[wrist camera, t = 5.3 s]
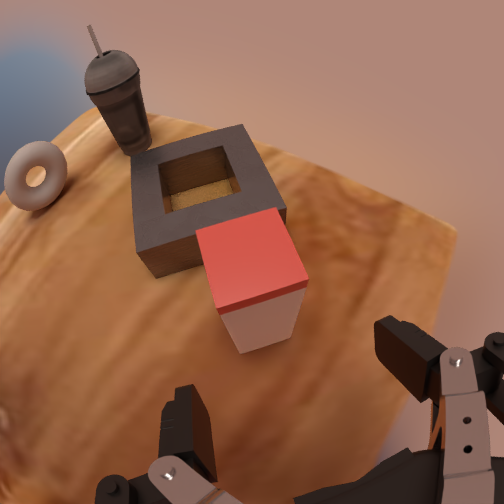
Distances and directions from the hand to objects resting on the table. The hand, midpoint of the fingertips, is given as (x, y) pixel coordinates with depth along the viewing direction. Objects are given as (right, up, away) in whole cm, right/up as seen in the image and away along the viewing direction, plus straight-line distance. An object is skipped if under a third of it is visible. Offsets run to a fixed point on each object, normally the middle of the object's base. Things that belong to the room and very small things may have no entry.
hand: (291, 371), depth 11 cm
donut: (-30, +12, +23) cm, 40 cm away
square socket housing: (-7, +10, +20) cm, 23 cm away
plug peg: (-1, -1, +13) cm, 13 cm away
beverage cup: (-18, +20, +27) cm, 38 cm away
